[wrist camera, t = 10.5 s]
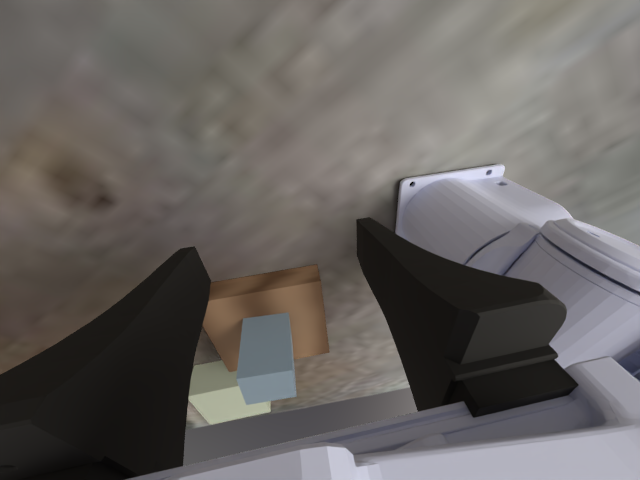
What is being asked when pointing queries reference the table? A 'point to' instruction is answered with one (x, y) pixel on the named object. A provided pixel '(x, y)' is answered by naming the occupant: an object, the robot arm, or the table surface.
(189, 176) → the table surface
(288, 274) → the walnut block
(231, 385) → the sage block
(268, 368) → the slate block
